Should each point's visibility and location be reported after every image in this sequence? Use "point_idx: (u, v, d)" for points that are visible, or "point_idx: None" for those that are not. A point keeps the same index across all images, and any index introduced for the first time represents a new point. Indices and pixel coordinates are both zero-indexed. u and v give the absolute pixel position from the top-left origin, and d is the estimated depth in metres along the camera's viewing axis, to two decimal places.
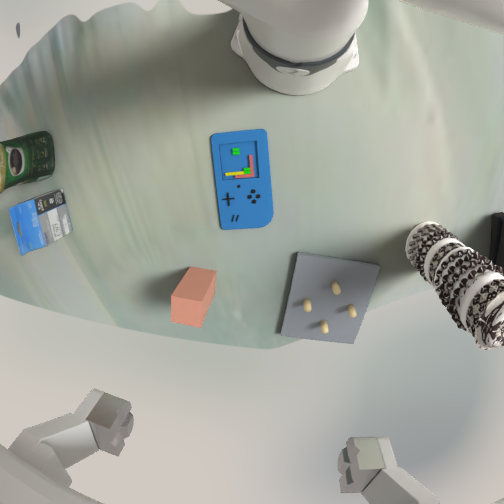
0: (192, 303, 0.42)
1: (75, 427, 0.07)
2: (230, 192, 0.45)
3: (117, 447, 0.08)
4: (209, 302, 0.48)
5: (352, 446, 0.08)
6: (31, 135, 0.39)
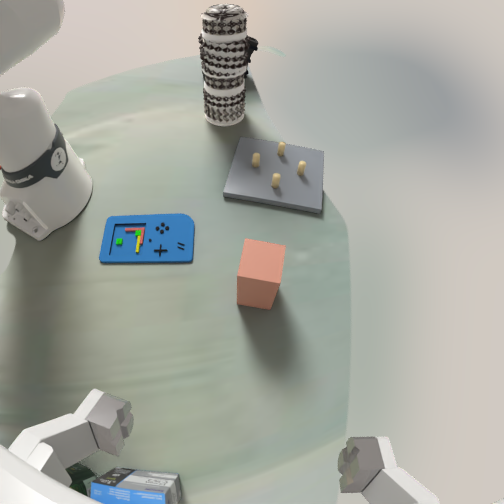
0: (248, 249, 0.33)
1: (75, 427, 0.07)
2: (154, 248, 0.43)
3: (117, 447, 0.08)
4: None
5: (352, 446, 0.08)
6: None
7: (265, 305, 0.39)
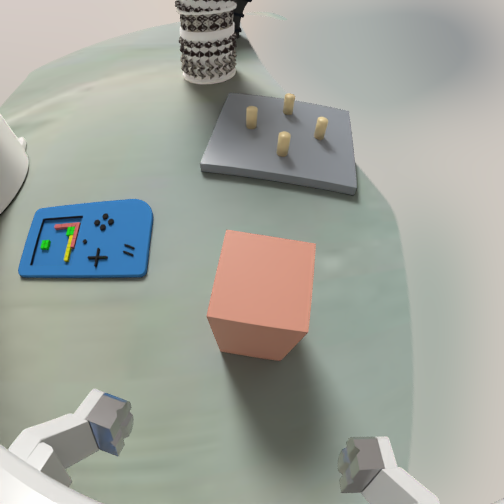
0: (233, 254, 0.15)
1: (74, 427, 0.07)
2: (89, 254, 0.25)
3: (117, 447, 0.08)
4: None
5: (352, 446, 0.08)
6: None
7: (272, 356, 0.20)
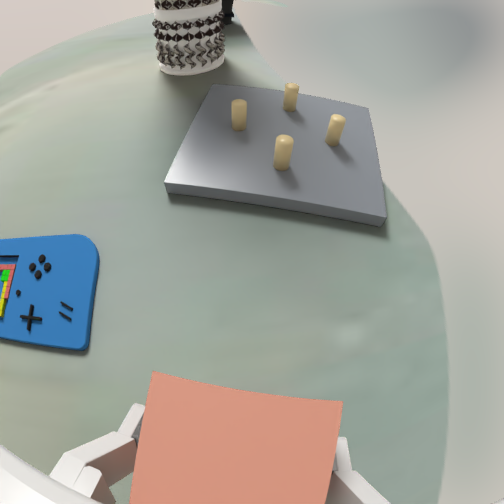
0: (166, 429, 0.06)
1: (121, 446, 0.07)
2: (23, 312, 0.16)
3: None
4: None
5: None
6: None
7: None
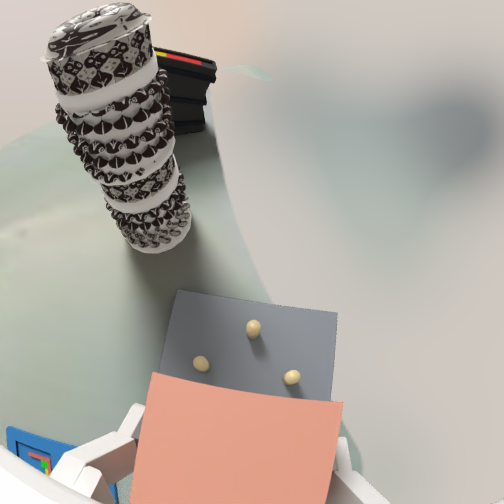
0: (166, 430, 0.06)
1: (121, 446, 0.07)
2: None
3: None
4: None
5: None
6: None
7: None
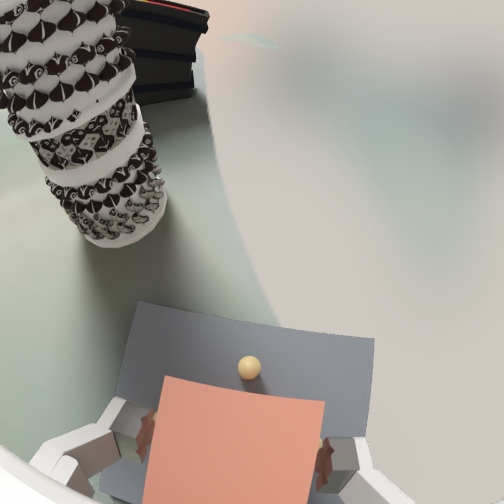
0: (176, 424, 0.07)
1: (99, 438, 0.07)
2: None
3: (141, 455, 0.08)
4: None
5: (327, 445, 0.08)
6: None
7: None
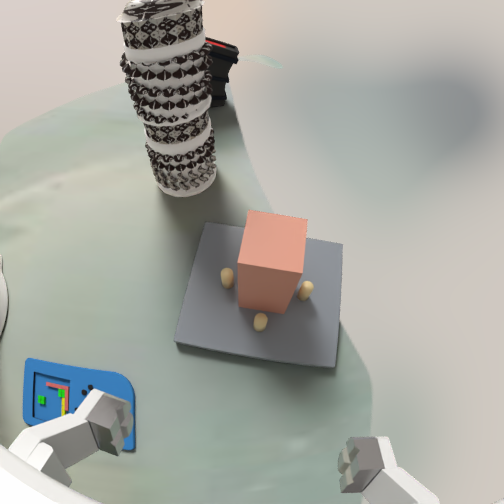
0: (253, 225, 0.23)
1: (75, 427, 0.07)
2: None
3: (117, 447, 0.08)
4: None
5: (352, 446, 0.08)
6: None
7: (278, 307, 0.28)
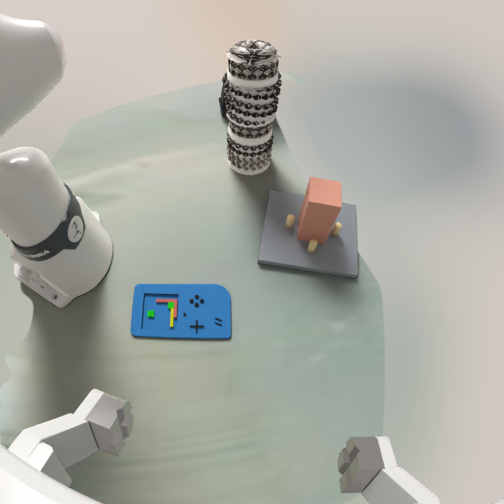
0: (314, 184, 0.41)
1: (75, 427, 0.07)
2: (190, 323, 0.42)
3: (117, 447, 0.08)
4: None
5: (352, 446, 0.08)
6: None
7: (322, 237, 0.47)
